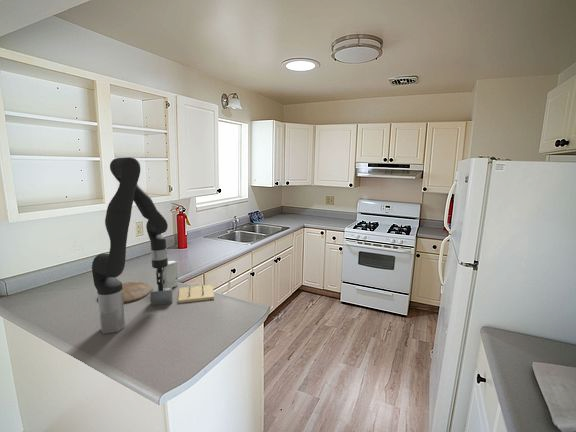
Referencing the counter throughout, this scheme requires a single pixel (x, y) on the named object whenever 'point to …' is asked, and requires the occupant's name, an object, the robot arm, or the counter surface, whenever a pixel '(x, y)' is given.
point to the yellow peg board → (195, 293)
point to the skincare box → (171, 275)
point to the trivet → (135, 291)
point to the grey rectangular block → (161, 296)
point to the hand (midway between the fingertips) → (161, 287)
